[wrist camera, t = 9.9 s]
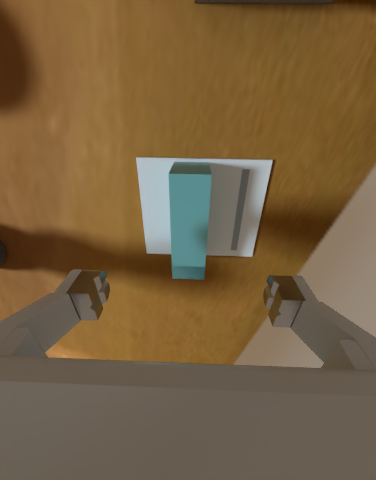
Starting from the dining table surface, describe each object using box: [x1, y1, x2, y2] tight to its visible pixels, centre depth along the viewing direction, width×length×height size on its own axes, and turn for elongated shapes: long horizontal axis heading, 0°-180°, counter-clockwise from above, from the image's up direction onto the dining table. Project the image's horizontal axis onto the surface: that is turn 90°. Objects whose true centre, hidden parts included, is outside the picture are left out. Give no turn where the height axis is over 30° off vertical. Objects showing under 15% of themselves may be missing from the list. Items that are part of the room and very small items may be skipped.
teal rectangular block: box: [169, 162, 212, 280], centre depth 17 cm, size 9×3×4 cm, turn 179°
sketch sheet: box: [136, 157, 273, 257], centre depth 19 cm, size 10×11×1 cm
